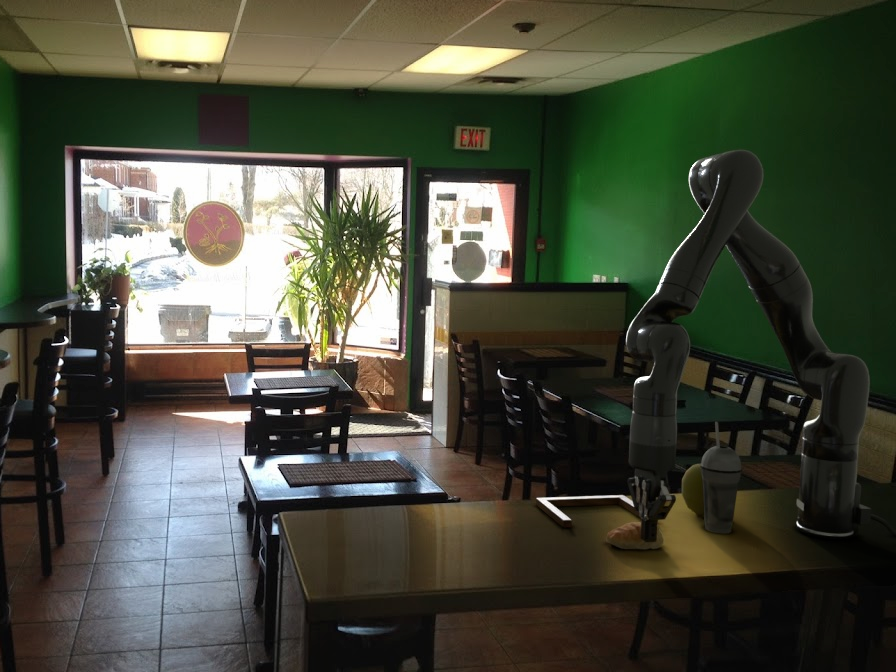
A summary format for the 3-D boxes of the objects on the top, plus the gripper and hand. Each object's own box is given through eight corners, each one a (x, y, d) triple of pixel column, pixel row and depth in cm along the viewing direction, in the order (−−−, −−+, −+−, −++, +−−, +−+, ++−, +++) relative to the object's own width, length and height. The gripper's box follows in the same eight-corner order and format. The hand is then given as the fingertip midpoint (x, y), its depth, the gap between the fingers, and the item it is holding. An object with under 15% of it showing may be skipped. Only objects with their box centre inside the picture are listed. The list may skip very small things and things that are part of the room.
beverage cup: (742, 537, 160) (748, 427, 159) (700, 533, 162) (705, 424, 160) (735, 525, 167) (740, 419, 166) (694, 521, 169) (699, 417, 167)
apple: (735, 524, 168) (739, 467, 167) (681, 519, 170) (684, 462, 169) (731, 509, 177) (733, 455, 176) (679, 504, 180) (682, 451, 179)
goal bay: (622, 501, 181) (623, 494, 181) (657, 523, 167) (657, 516, 167) (535, 504, 178) (535, 497, 178) (563, 527, 164) (563, 520, 164)
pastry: (619, 553, 150) (620, 531, 150) (597, 541, 157) (598, 519, 156) (666, 548, 153) (667, 526, 153) (643, 536, 160) (644, 515, 159)
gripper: (694, 447, 144) (689, 552, 145) (654, 431, 157) (650, 528, 158) (651, 448, 142) (646, 554, 144) (614, 432, 155) (610, 529, 157)
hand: (648, 540), depth 151 cm, fingers closed
